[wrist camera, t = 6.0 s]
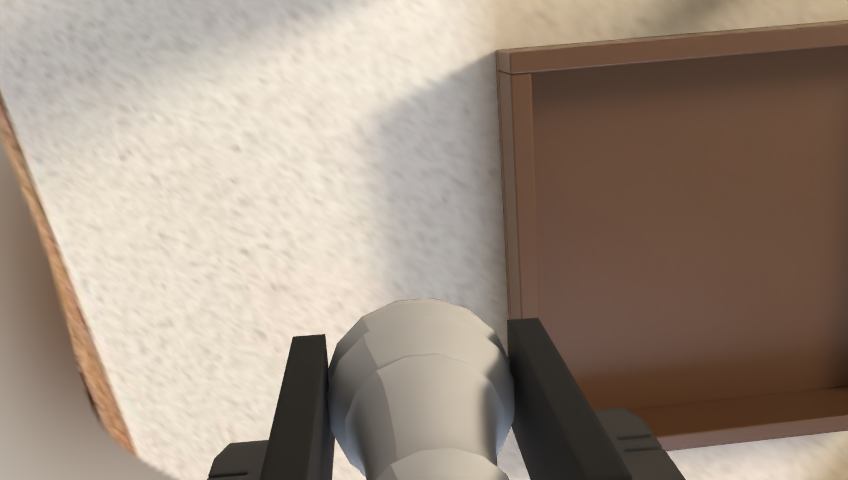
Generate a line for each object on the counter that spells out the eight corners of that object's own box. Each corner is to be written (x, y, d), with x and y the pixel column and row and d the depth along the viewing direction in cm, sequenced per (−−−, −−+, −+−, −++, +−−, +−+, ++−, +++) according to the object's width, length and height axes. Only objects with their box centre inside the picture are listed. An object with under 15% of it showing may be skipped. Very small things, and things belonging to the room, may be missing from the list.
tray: (495, 49, 30) (509, 52, 27) (954, 11, 31) (1016, 9, 28) (514, 430, 35) (527, 467, 32) (909, 386, 36) (958, 418, 33)
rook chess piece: (287, 363, 18) (230, 616, 10) (437, 254, 17) (495, 432, 10) (400, 488, 19) (424, 800, 11) (542, 389, 18) (669, 644, 11)
